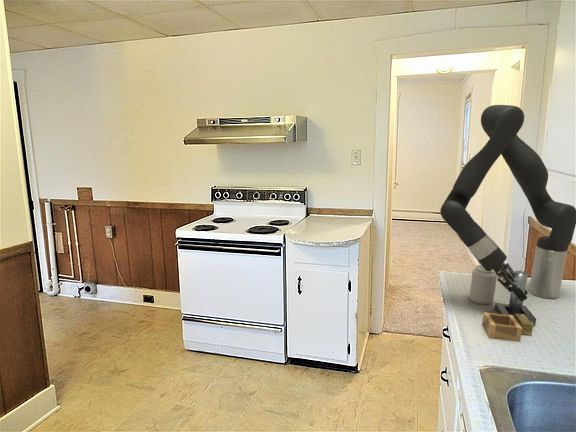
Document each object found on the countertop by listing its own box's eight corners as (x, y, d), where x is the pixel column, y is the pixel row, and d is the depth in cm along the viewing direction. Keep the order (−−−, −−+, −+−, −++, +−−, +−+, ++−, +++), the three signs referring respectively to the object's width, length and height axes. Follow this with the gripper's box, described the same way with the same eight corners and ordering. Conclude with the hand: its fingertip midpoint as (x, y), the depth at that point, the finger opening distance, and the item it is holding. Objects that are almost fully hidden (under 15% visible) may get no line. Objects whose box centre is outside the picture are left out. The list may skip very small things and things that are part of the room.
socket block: (494, 309, 133) (495, 302, 133) (524, 312, 132) (525, 305, 131) (502, 323, 125) (503, 315, 124) (534, 326, 123) (536, 318, 123)
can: (491, 307, 135) (496, 273, 132) (467, 302, 139) (471, 268, 136) (494, 299, 141) (499, 266, 138) (470, 294, 145) (475, 262, 142)
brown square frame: (482, 324, 124) (483, 312, 123) (510, 327, 122) (512, 315, 121) (489, 337, 116) (491, 325, 115) (520, 341, 114) (522, 328, 113)
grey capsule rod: (505, 314, 130) (512, 270, 127) (517, 315, 130) (525, 271, 126) (509, 319, 127) (516, 274, 123) (521, 321, 126) (529, 275, 123)
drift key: (512, 322, 125) (514, 311, 124) (523, 323, 124) (525, 312, 124) (520, 333, 118) (522, 322, 117) (531, 334, 118) (533, 323, 117)
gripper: (495, 251, 121) (536, 299, 118) (499, 240, 133) (536, 283, 129) (473, 265, 125) (512, 311, 122) (479, 252, 137) (515, 295, 133)
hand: (524, 297), depth 126 cm, fingers closed on grey capsule rod, 3 cm apart
